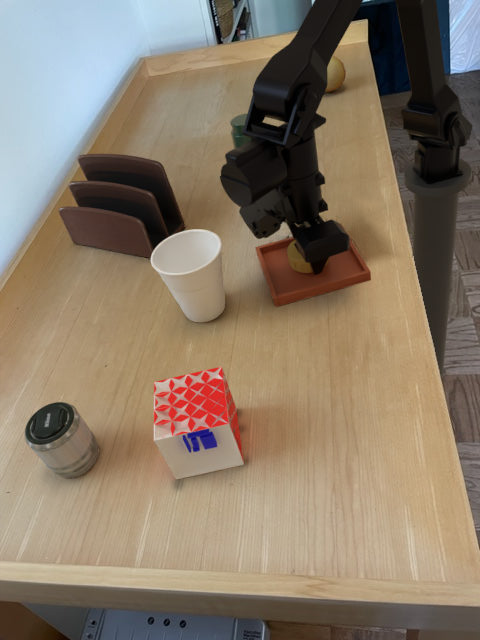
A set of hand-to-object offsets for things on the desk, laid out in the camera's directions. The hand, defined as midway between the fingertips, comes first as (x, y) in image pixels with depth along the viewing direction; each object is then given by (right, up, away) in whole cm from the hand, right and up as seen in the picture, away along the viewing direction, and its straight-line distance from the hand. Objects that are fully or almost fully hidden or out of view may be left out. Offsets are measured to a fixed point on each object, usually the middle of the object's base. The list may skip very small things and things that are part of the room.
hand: (309, 261), depth 81 cm
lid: (-1, +2, -2) cm, 2 cm away
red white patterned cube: (-14, -23, -18) cm, 33 cm away
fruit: (+10, +45, +46) cm, 65 cm away
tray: (0, -1, +1) cm, 1 cm away
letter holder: (-31, +7, +18) cm, 36 cm away
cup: (-16, -7, -1) cm, 17 cm away
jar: (-8, +21, +26) cm, 34 cm away
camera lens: (-30, -26, -16) cm, 43 cm away
